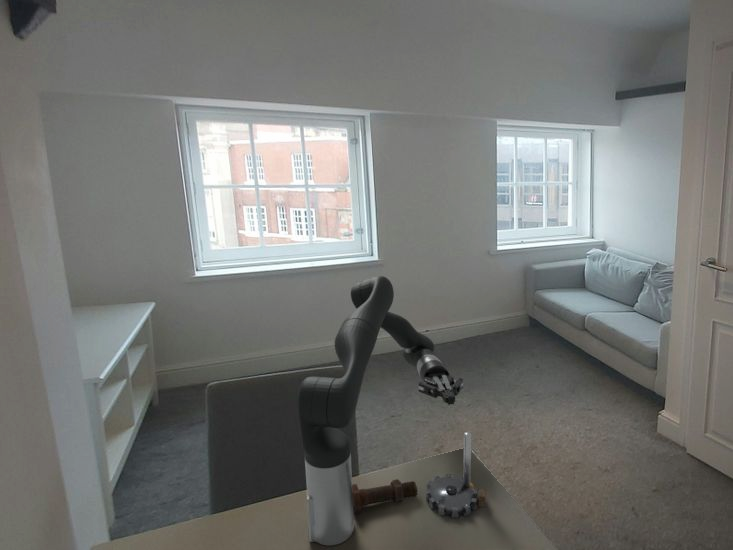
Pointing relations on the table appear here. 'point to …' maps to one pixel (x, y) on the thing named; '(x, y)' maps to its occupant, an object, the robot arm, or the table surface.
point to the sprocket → (454, 488)
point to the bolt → (383, 494)
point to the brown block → (482, 498)
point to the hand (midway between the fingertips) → (451, 401)
